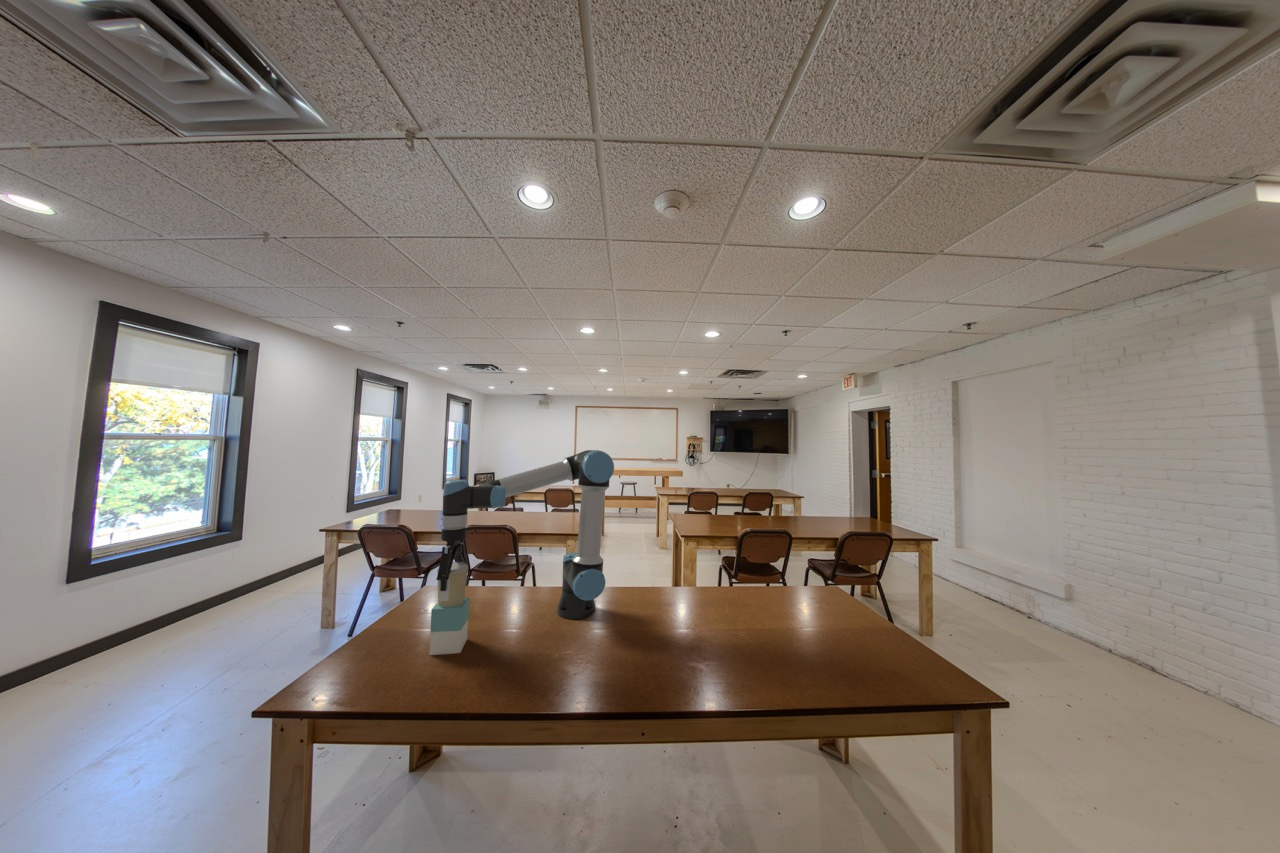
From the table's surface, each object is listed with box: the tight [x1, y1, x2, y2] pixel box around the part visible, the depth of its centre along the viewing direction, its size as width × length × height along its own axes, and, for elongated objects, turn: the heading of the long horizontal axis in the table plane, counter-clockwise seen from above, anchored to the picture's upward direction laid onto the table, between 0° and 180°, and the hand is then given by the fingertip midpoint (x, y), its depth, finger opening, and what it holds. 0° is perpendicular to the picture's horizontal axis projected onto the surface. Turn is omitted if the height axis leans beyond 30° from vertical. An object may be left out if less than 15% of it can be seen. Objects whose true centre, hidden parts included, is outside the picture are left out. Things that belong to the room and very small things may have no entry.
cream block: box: [429, 619, 469, 656], centre depth 129 cm, size 9×9×7 cm
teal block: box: [430, 597, 470, 633], centre depth 129 cm, size 9×9×7 cm
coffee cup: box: [436, 561, 469, 608], centre depth 130 cm, size 9×9×12 cm
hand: (451, 592), depth 130 cm, fingers open, 13 cm apart
